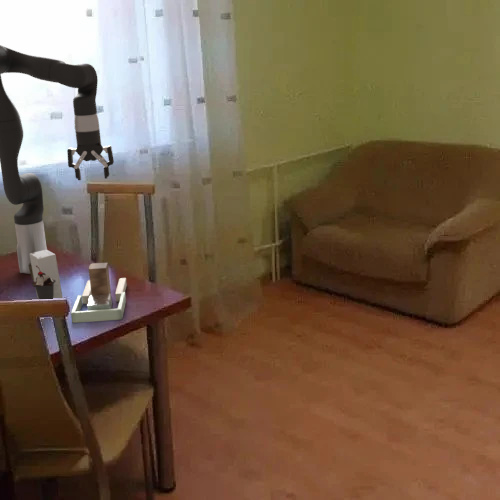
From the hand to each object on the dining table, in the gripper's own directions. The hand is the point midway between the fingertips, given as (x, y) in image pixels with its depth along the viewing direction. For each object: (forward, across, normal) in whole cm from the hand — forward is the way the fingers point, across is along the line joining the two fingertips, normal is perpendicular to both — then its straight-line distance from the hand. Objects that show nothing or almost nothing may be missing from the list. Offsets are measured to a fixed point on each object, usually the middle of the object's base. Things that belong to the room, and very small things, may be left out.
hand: (92, 179), depth 247 cm
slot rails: (+32, -3, +21) cm, 38 cm away
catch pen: (+32, -3, +36) cm, 48 cm away
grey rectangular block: (+32, -3, +38) cm, 50 cm away
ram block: (+32, -3, +29) cm, 43 cm away
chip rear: (+32, -3, +34) cm, 47 cm away
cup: (+32, +18, +10) cm, 38 cm away
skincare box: (+32, +14, +22) cm, 42 cm away
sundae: (+32, +12, +35) cm, 49 cm away
